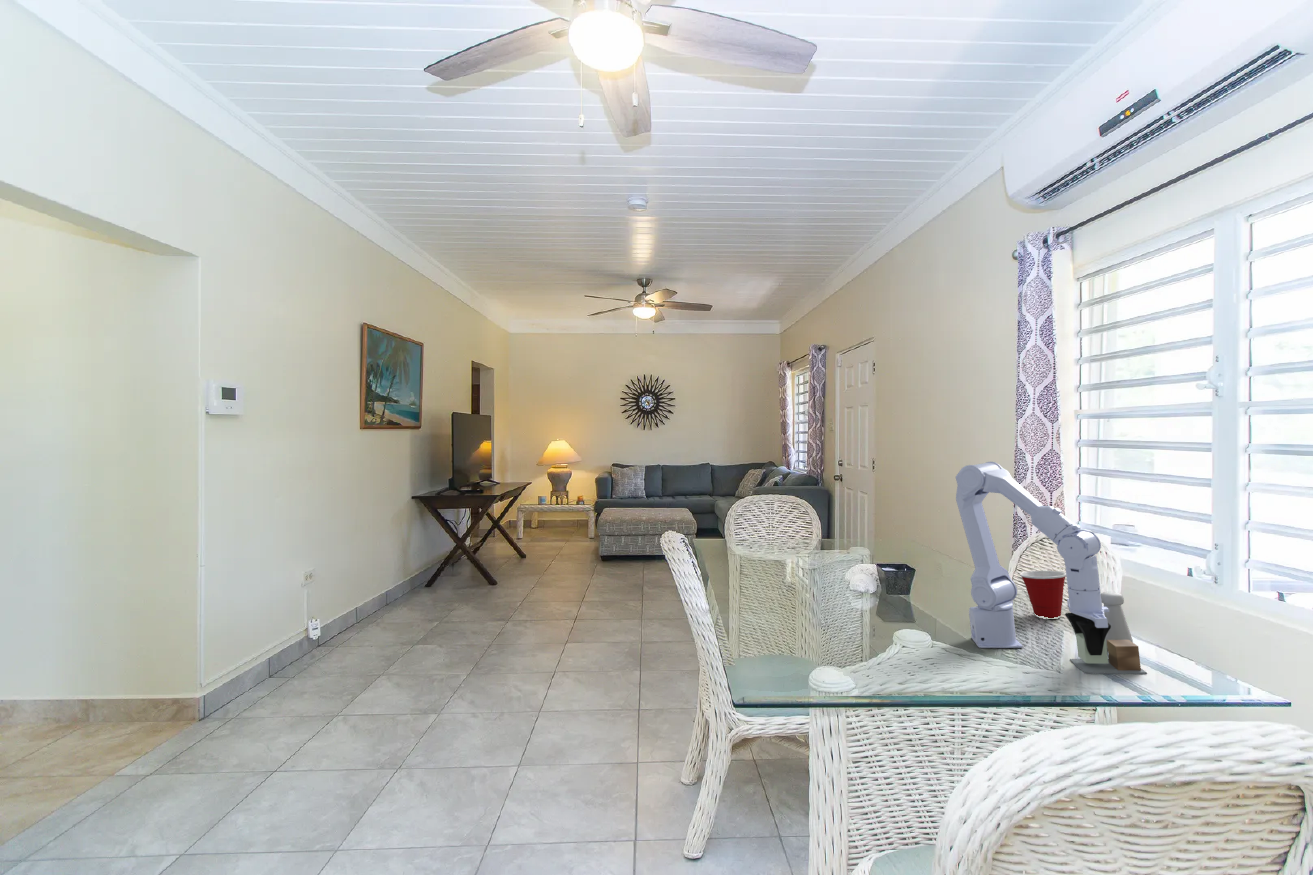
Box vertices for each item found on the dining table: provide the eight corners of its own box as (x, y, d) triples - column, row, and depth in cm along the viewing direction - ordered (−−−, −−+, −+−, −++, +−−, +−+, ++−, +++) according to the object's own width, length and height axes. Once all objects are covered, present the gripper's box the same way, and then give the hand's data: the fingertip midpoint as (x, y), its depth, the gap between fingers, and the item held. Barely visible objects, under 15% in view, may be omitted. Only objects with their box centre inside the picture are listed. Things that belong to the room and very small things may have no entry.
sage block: (1086, 663, 125) (1083, 639, 125) (1078, 656, 129) (1075, 633, 129) (1108, 663, 124) (1105, 639, 124) (1099, 656, 128) (1096, 633, 128)
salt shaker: (1139, 654, 130) (1133, 595, 130) (1110, 655, 131) (1103, 596, 131) (1124, 645, 135) (1118, 588, 136) (1096, 646, 136) (1090, 590, 137)
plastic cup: (1058, 609, 164) (1053, 566, 164) (1080, 621, 153) (1075, 575, 153) (1016, 611, 165) (1011, 569, 165) (1035, 623, 154) (1030, 578, 155)
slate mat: (1084, 673, 123) (1084, 672, 123) (1070, 660, 130) (1069, 658, 130) (1146, 673, 120) (1146, 672, 120) (1128, 659, 128) (1127, 658, 128)
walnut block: (1118, 670, 122) (1115, 646, 123) (1109, 663, 126) (1106, 639, 126) (1141, 670, 121) (1138, 646, 122) (1131, 663, 125) (1128, 639, 125)
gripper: (1122, 596, 119) (1129, 663, 119) (1089, 578, 133) (1096, 638, 133) (1081, 597, 121) (1089, 663, 120) (1054, 579, 135) (1060, 639, 134)
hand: (1090, 650), depth 127 cm, fingers closed on sage block, 4 cm apart
